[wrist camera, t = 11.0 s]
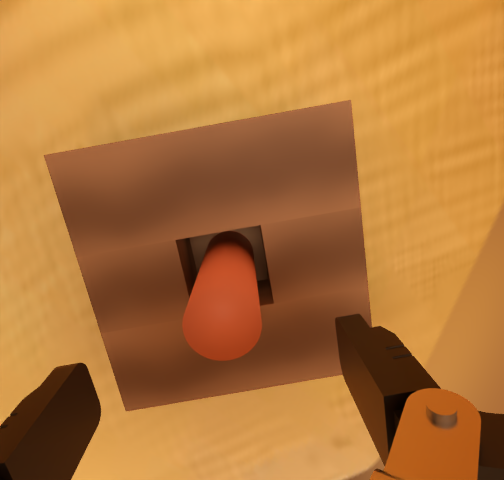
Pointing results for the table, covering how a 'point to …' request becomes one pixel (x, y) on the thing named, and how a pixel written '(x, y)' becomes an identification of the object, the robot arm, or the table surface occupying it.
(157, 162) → the bore block
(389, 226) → the table surface
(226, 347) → the dowel
